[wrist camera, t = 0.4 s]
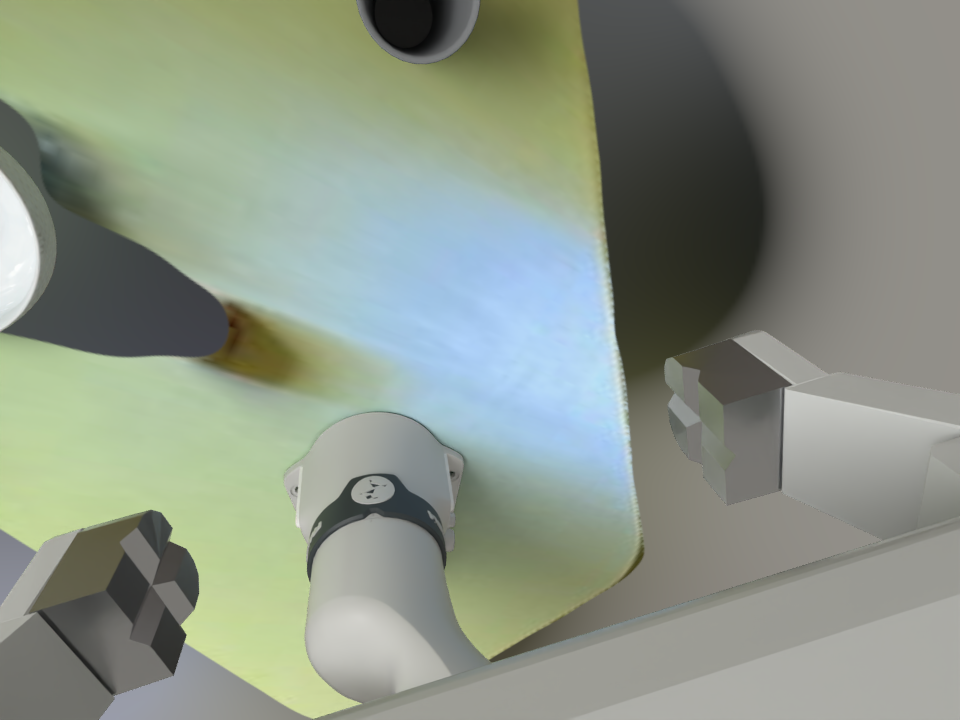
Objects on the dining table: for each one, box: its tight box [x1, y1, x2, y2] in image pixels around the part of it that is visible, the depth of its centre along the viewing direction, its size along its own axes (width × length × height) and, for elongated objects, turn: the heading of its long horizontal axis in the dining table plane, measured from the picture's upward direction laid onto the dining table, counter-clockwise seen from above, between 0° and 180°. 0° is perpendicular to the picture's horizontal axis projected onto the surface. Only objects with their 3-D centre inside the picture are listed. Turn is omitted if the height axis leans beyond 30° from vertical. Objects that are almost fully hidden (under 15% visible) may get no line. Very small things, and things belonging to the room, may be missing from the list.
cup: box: [356, 0, 480, 64], centre depth 39 cm, size 7×7×15 cm
